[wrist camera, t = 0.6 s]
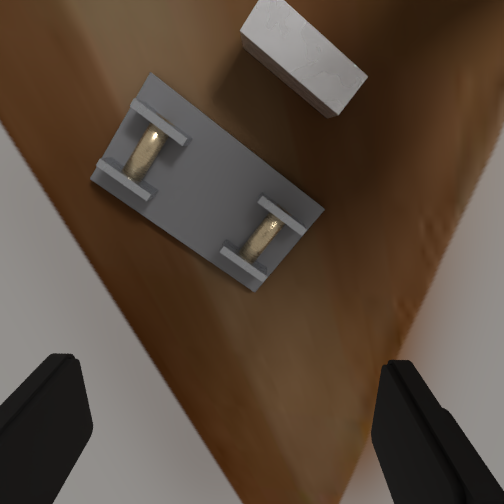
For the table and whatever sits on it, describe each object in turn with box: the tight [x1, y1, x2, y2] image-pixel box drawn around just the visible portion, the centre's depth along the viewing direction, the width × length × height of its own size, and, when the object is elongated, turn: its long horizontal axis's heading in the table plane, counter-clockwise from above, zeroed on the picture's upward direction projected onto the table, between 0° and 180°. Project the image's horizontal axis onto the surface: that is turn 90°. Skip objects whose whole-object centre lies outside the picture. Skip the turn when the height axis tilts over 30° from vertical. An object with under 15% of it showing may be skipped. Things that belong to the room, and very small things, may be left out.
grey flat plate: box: [90, 72, 325, 292], centre depth 33 cm, size 12×21×1 cm, turn 53°
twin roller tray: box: [96, 98, 307, 282], centre depth 32 cm, size 7×20×2 cm, turn 53°
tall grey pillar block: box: [240, 0, 368, 118], centre depth 28 cm, size 4×10×5 cm, turn 53°
